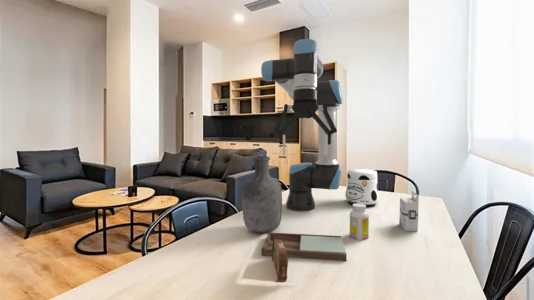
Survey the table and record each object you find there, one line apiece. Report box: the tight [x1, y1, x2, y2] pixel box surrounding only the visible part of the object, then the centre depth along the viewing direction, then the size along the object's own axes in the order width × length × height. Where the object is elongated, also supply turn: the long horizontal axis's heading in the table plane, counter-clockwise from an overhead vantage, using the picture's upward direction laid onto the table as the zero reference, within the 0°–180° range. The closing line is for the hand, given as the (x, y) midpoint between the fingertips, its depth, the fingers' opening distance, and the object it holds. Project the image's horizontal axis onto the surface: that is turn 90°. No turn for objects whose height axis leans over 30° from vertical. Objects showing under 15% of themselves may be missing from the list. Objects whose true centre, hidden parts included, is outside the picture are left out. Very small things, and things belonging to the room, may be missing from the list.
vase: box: [241, 155, 283, 234], centre depth 110 cm, size 16×16×30 cm
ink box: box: [398, 190, 420, 232], centre depth 112 cm, size 9×5×15 cm, turn 168°
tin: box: [271, 239, 289, 282], centre depth 77 cm, size 15×3×8 cm, turn 5°
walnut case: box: [260, 232, 348, 262], centre depth 91 cm, size 15×26×3 cm, turn 81°
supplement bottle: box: [349, 204, 370, 241], centre depth 101 cm, size 7×7×13 cm
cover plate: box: [300, 235, 347, 254], centre depth 90 cm, size 12×14×2 cm
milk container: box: [344, 168, 380, 207], centre depth 149 cm, size 17×17×18 cm
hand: (304, 154), depth 89 cm, fingers open, 13 cm apart
